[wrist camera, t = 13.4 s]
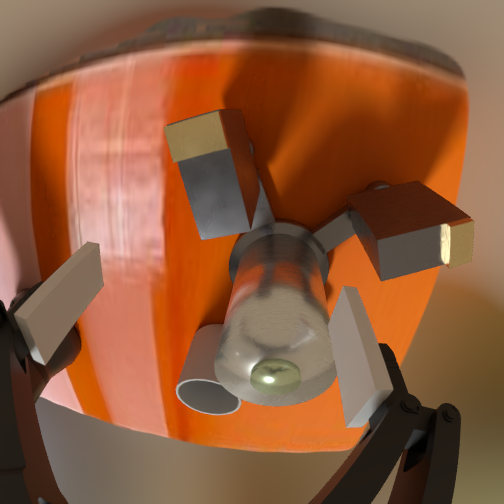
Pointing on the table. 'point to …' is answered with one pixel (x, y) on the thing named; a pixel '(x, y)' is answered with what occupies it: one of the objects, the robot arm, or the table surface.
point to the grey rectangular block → (216, 170)
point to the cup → (205, 376)
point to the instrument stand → (279, 309)
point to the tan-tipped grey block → (410, 228)
